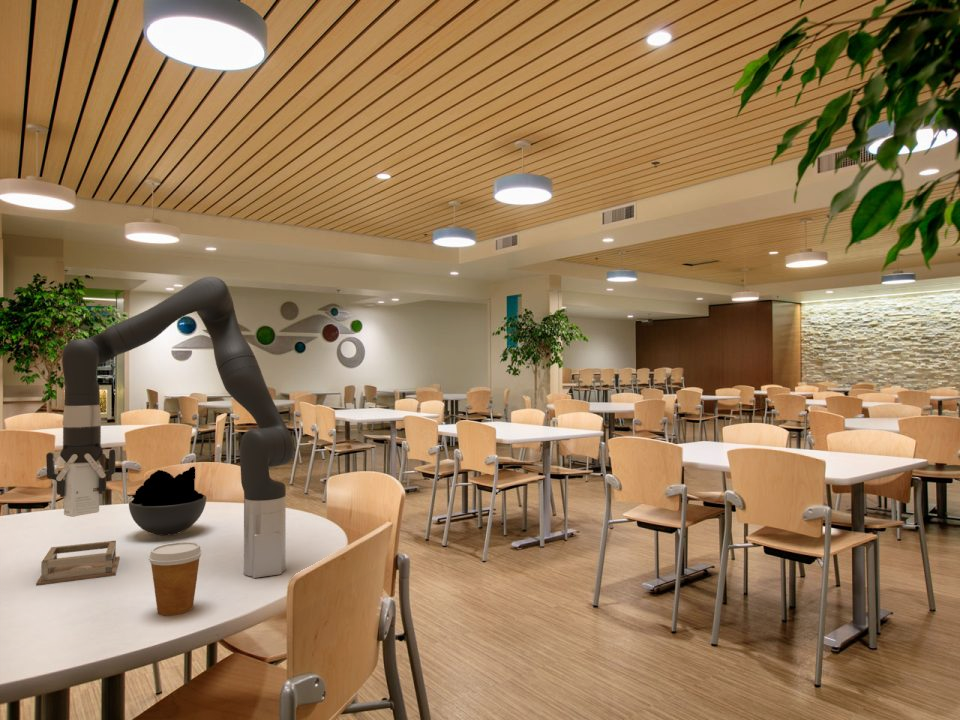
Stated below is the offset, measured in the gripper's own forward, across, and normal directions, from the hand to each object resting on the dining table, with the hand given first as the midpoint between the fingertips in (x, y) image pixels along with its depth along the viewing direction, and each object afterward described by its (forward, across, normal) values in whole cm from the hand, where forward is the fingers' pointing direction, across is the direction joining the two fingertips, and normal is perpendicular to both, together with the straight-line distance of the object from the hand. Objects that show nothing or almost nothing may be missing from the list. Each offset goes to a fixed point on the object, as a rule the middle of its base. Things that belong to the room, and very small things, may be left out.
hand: (81, 494), depth 148 cm
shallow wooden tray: (+18, 0, 0) cm, 18 cm away
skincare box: (+5, 0, 0) cm, 5 cm away
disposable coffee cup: (+18, -19, +37) cm, 45 cm away
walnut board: (+18, 0, 0) cm, 18 cm away
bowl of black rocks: (+18, -18, -28) cm, 38 cm away
